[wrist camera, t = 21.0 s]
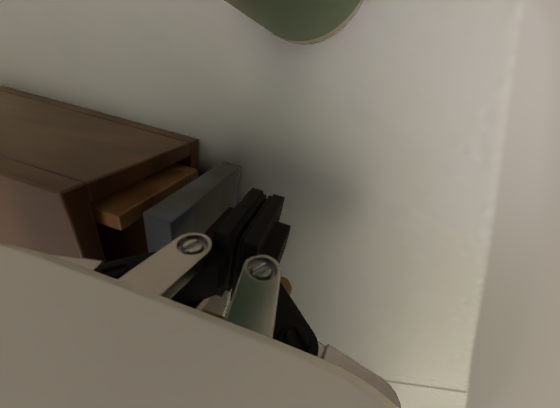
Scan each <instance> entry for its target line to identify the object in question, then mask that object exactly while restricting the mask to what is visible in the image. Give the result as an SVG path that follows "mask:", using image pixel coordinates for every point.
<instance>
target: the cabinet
mask: <svg viewBox="0 0 560 408" xmlns="http://www.w3.org/2000/svg"><path fill="white" fill-rule="evenodd" d="M174 163H177V164H181V165H184V166H188V167H191V168H194V169H197V170H198V139H195V138H191V137H187V136H184V135H180V134H176V133H173V132H169V131H165V130H162V129H158V128H154V127H151V126H147V125H143V124H140V123H136V122H132V121H129V120H125V119H121V118H118V117H114V116H110V115H107V114H103V113H99V112H96V111H92V110H88V109H85V108H81V107H77V106H74V105H70V104H66V103H63V102H59V101H55V100H52V99H48V98H44V97H41V96H37V95H33V94H30V93H26V92H22V91H19V90H15V89H11V88H8V87H4V86H0V243H2V244H9V245H14V246H19V247H23V248H28V249H32V250H35V251H38V252H42V253H53V254H60V255H67V256H74V257H81V258H89V259H96V260H103V263H106V259H105V255H104V251H103V248H102V244H101V240H100V237H99V233H98V230H97V226H96V222H95V219H94V215H93V211H92V208H91V204H90V202H94V201H96V200H98V199H100V198H102V197H104V196H107V195H109V194H111V193H113V192H115V191H117V190H119V189H121V188H123V187H126V186H128V185H130V184H132V183H134V182H136V181H138V180H140V179H143V178H145V177H147V176H149V175H151V174H153V173H155V172H157V171H160V170H162V169H164V168H166V167H168V166H170V165H172V164H174Z"/></svg>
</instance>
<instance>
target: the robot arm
mask: <svg viewBox="0 0 560 408" xmlns="http://www.w3.org/2000/svg"><path fill="white" fill-rule="evenodd" d="M283 203H284V197H282V196H279V195H275V194H274V195H273V196H268V198H267V199H266V194H263V191H262V190H259V189H255V188H252V189H251V190H250V191H249V192H248V193H247V194H246V196H245V197H244V198H243V199H242V200H241V201H240V202H239V203H238V205H237V206H236V207H235V208H233V207H228V208H227V209H226V210H225V211H224V212H223V214H222V215H221V216H220V217H219V218H218V219H217V220H216V221H215V222H214V223H213V224H212V225H211V226H210V227H209V228H208V229H207V231H206V232H205V233H204V234H202V233H198V232H190V233H185V234H182V235H180V236H179V237H177V238H176V239H174V240H173V241H171V242H170V243H168V244H167V245H166V246H164V247H163V248H161V249H160V250H158V251H156V252H151V253H146V254H141V255H136V256H131V257H126V258H121V259H116V260H112V261H109V262H106V263H103V260H96V259H89V258H81V257H74V256H67V255H60V254H53V253H42V252H38V251H35V250H32V249H28V248H23V247H19V246H14V245H9V244H2V243H0V408H401V404H400V402H399V399H398V397H397V395H396V393H395V391H394V390H393V389H392V387H391V386H390V385H389V384H388V383H387V382H386V381H385V380H383V379H382V378H381V377H379V376H378V375H376V374H374V373H373V372H371V371H370V370H368V369H367V368H365V367H363V366H362V365H360V364H359V363H357V362H355V361H354V360H352V359H351V358H349V357H348V356H346V355H344V354H343V353H341V352H340V351H338V350H336V349H335V348H333V347H332V346H330V345H329V344H328V345H327V346H324V345H323V344H321V343H320V342H318V341H317V338H316V336H315V334H314V332H313V331H312V329H311V328H310V326H309V325H308V323H307V322H306V320H305V319H304V317H303V316H302V314H301V312H300V311H299V309H298V308H297V306H296V305H295V303H294V302H293V300H292V299H291V297H290V296H289V294H288V293H287V291H286V290H285V288H284V287H283V285H282V283H281V282H280V279H281V266H280V264H279V263H280V260H281V258H282V255H283V252H284V249H285V246H286V243H287V239H288V236H289V232H290V228H291V226H290V225H287V224H284V223H280V222H279V220H280V215H281V211H282V207H283ZM231 288H232V291H231V299H230V301H231V302H230V305H229V308H228V310H227V313H226V316H225V319H224V320H223V319H220V318H218V317H215V316H213V315H210V314H207V313H205V312H202V311H201V310H202V309H203V308H204V307H205V305H206V304H207V302H208V301H209V297H212V296H215V295H217V296H220V297H222V296H223V294H224V292H225V291H226V290H227V291H230V289H231Z"/></svg>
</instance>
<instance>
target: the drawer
mask: <svg viewBox="0 0 560 408" xmlns="http://www.w3.org/2000/svg"><path fill="white" fill-rule="evenodd" d="M239 176H240V166H236V165H233V164H229V163H225V162H221V163H220V164H218V165H217V166H215V167H214V168H212V169H211V170H209V171H207V172H206V173H204V174H203V175H201V176H200V177H198V170H197V169H194V168H191V167H188V166H184V165H181V164H177V163H174V164H172V165H170V166H168V167H166V168H164V169H162V170H160V171H157V172H155V173H153V174H151V175H149V176H147V177H145V178H143V179H140V180H138V181H136V182H134V183H132V184H130V185H128V186H126V187H123V188H121V189H119V190H117V191H115V192H113V193H111V194H109V195H107V196H104V197H102V198H100V199H98V200H96V201H94V202H90V204H91V208H92V211H93V215H94V219H95V222H96V226H97V230H98V233H99V237H100V240H101V244H102V248H103V251H104V255H105V259H106V262H109V261H112V260H116V259H121V258H126V257H131V256H136V255H141V254H146V253H151V252H156V251H158V250H160V249H161V248H163V247H164V246H166V245H167V244H168V243H170V242H171V241H173V240H174V239H176V238H177V237H179V236H180V235H182V234H185V233H190V232H198V233H202V234H204V233H205V232H206V231H207V229H208V228H209V227H210V226H211V225H212V224H213V223H214V222H215V221H216V220H217V219H218V218H219V217H220V216H221V215H222V214H223V212H224V211H225V210H226V209H227V208H228V207H233V208H235V207H236V205H237V195H238V186H239ZM280 282H281V283H282V285H283V287H284V288H285V290H286V291H287V293H288V294H289V296H290V293H291V289H292V288H291V284H290V282H289V281H288V280H287V279H286V278H285V277H283V276H281V279H280ZM226 299H227V290H226V291H225V292H224V294H223V296H222V297H220V296H217V295H215V296H212V297H209V301H208V302H207V304H206V305H205V307H204V308H203V309H202V310H201V311H202V312H205V313H207V314H210V315H213V316H215V317H218V318H220V319H223V320H224V319H225V317H224V316H221V315H222V313H223V311H224V309H225V307H226Z"/></svg>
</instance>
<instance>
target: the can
mask: <svg viewBox="0 0 560 408" xmlns="http://www.w3.org/2000/svg"><path fill="white" fill-rule="evenodd" d="M225 1H226V2H228V3H229V4H231V5H232V6H234V7H235V8H237V9H238V10H240V11H241V12H243V13H244V14H245V15H247V16H248V17H250V18H251V19H253V20H254V21H256V22H257V23H259V24H260V25H262V26H263V27H265V28H266V29H268V30H269V31H271V32H272V33H273V34H275V35H277V36H279V37H281V38H282V39H284V40H286V41H289V42H292V43H296V44H312V43H317V42H320V41H322V40H325V39H327V38H329V37H331V36H332V35H334V34H335V33H337V32H338V31H339V30H340V29H342V28H343V27H344V26H345V25H346V24H347V23H348V22H349V21H350V19H351V18H352V17H353V16H354V14H355V13H356V12H357V10H358V9H359V7H360V5H361V4H362V2H363V0H225Z"/></svg>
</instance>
